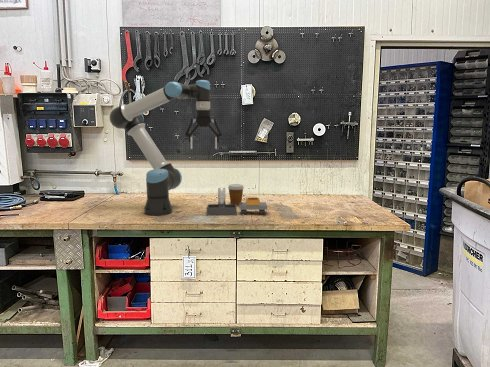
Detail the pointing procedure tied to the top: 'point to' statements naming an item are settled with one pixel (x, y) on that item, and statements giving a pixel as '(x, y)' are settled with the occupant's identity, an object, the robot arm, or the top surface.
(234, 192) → the disposable coffee cup
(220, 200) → the pin
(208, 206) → the pin tray
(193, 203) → the top surface
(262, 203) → the plate with orange frame
